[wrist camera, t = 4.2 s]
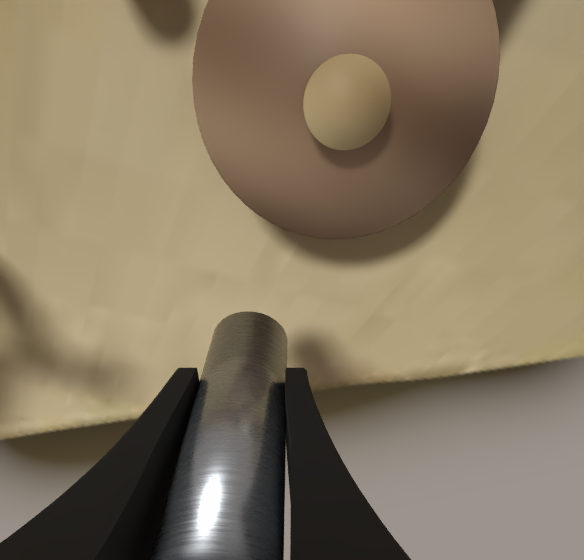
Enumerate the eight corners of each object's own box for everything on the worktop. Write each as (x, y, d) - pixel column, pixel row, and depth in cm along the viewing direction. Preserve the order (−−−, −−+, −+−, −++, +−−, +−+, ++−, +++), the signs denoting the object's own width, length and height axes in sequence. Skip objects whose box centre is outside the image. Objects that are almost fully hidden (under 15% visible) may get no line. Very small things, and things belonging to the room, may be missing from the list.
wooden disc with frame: (382, 244, 20) (401, 283, 16) (181, 164, 18) (154, 190, 14) (653, -210, 12) (806, -325, 8) (340, -465, 9) (368, -766, 6)
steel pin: (296, 359, 15) (300, 604, 8) (230, 375, 16) (182, 619, 9) (273, 303, 14) (254, 544, 7) (200, 322, 14) (115, 565, 7)
